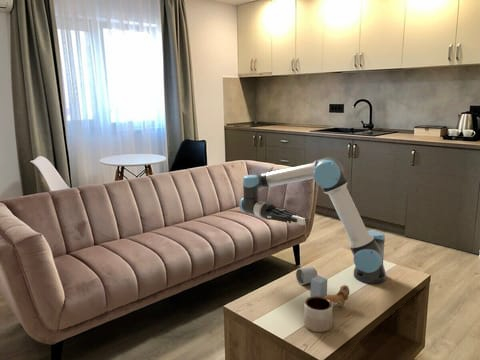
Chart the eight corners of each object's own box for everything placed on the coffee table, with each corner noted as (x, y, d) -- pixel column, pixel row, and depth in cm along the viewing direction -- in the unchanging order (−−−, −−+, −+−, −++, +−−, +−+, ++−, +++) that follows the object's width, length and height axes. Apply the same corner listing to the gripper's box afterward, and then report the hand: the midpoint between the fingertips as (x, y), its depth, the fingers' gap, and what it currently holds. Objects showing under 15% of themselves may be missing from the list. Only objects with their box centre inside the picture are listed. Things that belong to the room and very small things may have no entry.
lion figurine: (343, 300, 172) (343, 282, 170) (352, 306, 167) (353, 287, 165) (317, 310, 165) (317, 290, 163) (325, 316, 160) (326, 296, 158)
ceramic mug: (318, 283, 187) (318, 268, 186) (304, 287, 184) (304, 272, 182) (305, 275, 197) (305, 260, 195) (291, 278, 193) (291, 264, 192)
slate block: (310, 299, 173) (311, 279, 171) (317, 295, 177) (317, 275, 174) (319, 304, 170) (320, 282, 167) (326, 299, 173) (327, 279, 171)
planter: (304, 332, 150) (304, 309, 148) (303, 316, 161) (303, 295, 159) (333, 334, 149) (334, 311, 147) (330, 317, 159) (331, 296, 157)
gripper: (274, 214, 194) (312, 226, 177) (255, 221, 186) (294, 233, 169) (274, 200, 193) (313, 210, 176) (255, 205, 184) (294, 216, 167)
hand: (304, 221), depth 172 cm, fingers closed
